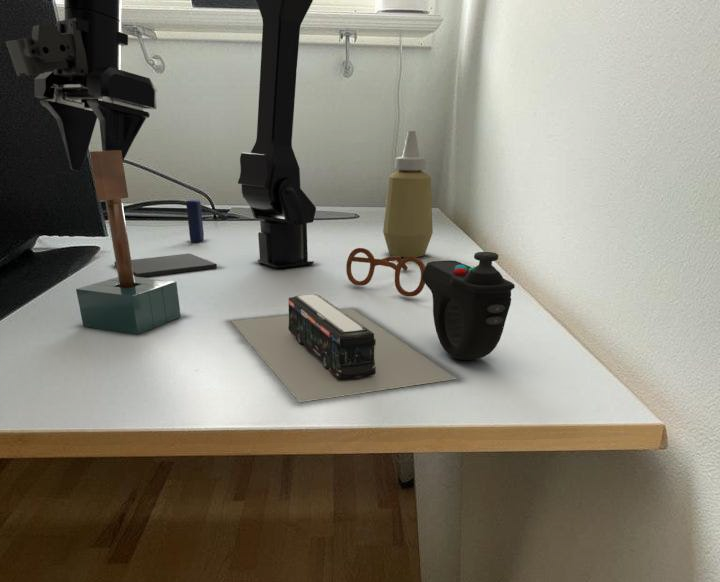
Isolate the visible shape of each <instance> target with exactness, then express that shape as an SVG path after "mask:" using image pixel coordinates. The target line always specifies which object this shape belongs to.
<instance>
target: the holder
mask: <svg viewBox="0 0 720 582" xmlns="http://www.w3.org/2000/svg"><path fill="white" fill-rule="evenodd" d="M134 281H135V287H132V288H122V287H120V285H119V279H118V276H116V277H113V278H110V279H105V280H103V281H99V282H96V283H95V282H94V283H92V284H89V285H85V286H81V287H78V288H75V292H76V296H77V302H78V306H79V311H80V316H81V321H82V326H83V327H86V328H91V329H100V330H106V331H113V332H117V333H118V332H119V333H124V334H125V333H126V334H133V335H141V334H143V333H145V332H148V331H150V330H153V329H154V328H157V327H160V326H163V325H165V324H167V323H169V322H172V321H174V320H178V319H179V318H181V317H182V315H181V307H180V299H179V291H178V284H177V281H176V280H169V279H168V280H167V279H158V278H150V277H136V276H134Z"/></svg>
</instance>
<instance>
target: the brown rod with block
mask: <svg viewBox="0 0 720 582" xmlns="http://www.w3.org/2000/svg"><path fill="white" fill-rule="evenodd" d="M89 157H90V162H91V169H92V175H93V179H94V186H95V191H96V192H95V193H96V198H97V201H98V202H105V206H106V212H107V220H108V225H109V232H110V237H111V243H112V249H113V254H114V259H115V260H114V262H116V266H115V267H116V272H117V277H118V279H119V285H120V287H122V288H132V287H135V281H134V277H135V276H134V274H133V268H132V261H131V260H132V257H131V250H130V243H129V236H128V230H127V224H126V217H125V211H124V205H123V199H128V198H129V192H128V186H127V180H126V173H125V167H124V160H123V159H122V152H121V150H107V151H102V150H93V151H89Z"/></svg>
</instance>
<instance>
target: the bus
mask: <svg viewBox="0 0 720 582" xmlns="http://www.w3.org/2000/svg"><path fill="white" fill-rule="evenodd" d="M287 300H288V315H286V314H285V315H277V316H267V317H258V318H257V317H256V318H248V319H247V318H246V319H239V320H238V319H237V320H231V321H230V322H231V323H232V324H233V326H234V327H235V328H236V329H237V330H238V332H240V334H241V335H242V336H243V338H245V339H246V341H247V342H248V344H250V346H251V347H252V348H253V349H254V350H255V352H256V353H257V354H258V355H259V356H260V357H261V359H262V360H263V361H264V362H265V363H266V364H267V366H268V367H269V368H270V369H271V371H272V372H273V373H274V374H275V375H276V376H277V377H278V378H279V380H280V381H281V382H282V383H283V384H284V386H285V387H286V388H287V389H288V390H289V392H290V393H291V394H292V395H293V396H294V397H295V398H296V400H297V401H298V402H299V403H301V402H302V403H303V402H309V401H316V400H323V399H330V398H337V397H344V396H350V395H351V396H352V395H358V394H365V393H371V392H377V391H385V390H392V389H397V388H399V389H400V388H404V387H412V386H418V385H419V386H420V385H425V384H431V383H438V382H439V383H440V382H445V381H452V380H457V377H455V376H453V375H452V374H451V373H449V372H447V371H446V370H444V369H443V368H442V367H440V366H439V365H437V364H435V363H434V362H433V361H431V360H430V359H429V358H427V357H425V356H423V354H421V353H419V352H418V351H416V350H415V349H413V348H411V346H409V345H407V344H406V343H404V342H403V341H401V340H400V339H398V338H396V337H395V336H394V335H393V334H391V333H389V332H387V331H386V330H385V329H383V328H382V327H380V326H378V325H377V324H376V323H374V322H373V321H371V320H370V319H368V318H367V317H365V316H364V315H362V314H360V313H359V312H358V311H356V310H354V309H353V308H347V309H345V308H344V309H339V308H338V307H337V306H335V305H334V304H332V303H331V302H330V301H328V300H327V299H325V298H324V297H322V296H321V295H319V294H315V293H313V294H303V295H295V296H292V297H288V299H287Z"/></svg>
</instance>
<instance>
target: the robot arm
mask: <svg viewBox="0 0 720 582" xmlns="http://www.w3.org/2000/svg"><path fill="white" fill-rule="evenodd" d="M42 1H43V2H46V3H50V2H52V1H53V0H42ZM63 2H64V3H63V4H64V7H63V8H64V9H63V10H64V19H63V20H58V21H57V23H55V24H54V23H45V24H37V25H33V26H32V31H31V32H32V33H31V37H26V38H19V39H13V40H12V39H11V40H6V41H5V44H6V47H7V50H8V53H9V56H10V58H11V61H12V64H13V68H14V70H15V74H16V76H17V77H22V76H36V75H37V76H36V77H35V78H34V79H33V80H34V97H35V98H38V99H41V100H39V102H40V104H41V105H42V107H45V109H47V111H48V112H49V113H50V114H51V115H52V116H53V117H54V118H55V120H56V123H57V126H58V128H59V131H60V134H61V138H62V142H63V144H64V148H65V153H66V156H67V159H68V164H69V167H70V169H71V170H72V171H77V172H81V171H82V169H83V167H84V164H85V160H86V157H87V154H88V151H89V147H90V144H91V140H92V137H93V133H94V130H95V127H96V123H97V121H98V123H99V131H100V142H101V151H107V150H121V152H122V159H123V161H124V160H125V158H126V157H127V155H128V152H129V150H130V148H131V147H132V144H133V143H134V140H135V139H136V137H137V135H138V134H139V132H140V130H141V128H142V126H143V125H144V124H145V121H146V120H147V119H149V118H150V116H151V113H150V112H149V111H145V110H157V104H158V103H157V102H158V101H157V100H158V89H157V88H156V86H155V85H154V83H153V81H152V80H151V78H149V77H147V76H143V75H139V74H137V73H132V72H129V71H126V70H122V69H121V47H124V46H128V45H129V34H128V33H124V32H121V31H122V0H64V1H63ZM255 2H256V4H257V5H256V6H257V8H258V10H259V13H260V15H261V19H262V32H261V33H262V34H261V50H260V51H261V53H260V55H261V56H260V67H259V70H260V71H259V87H258V88H259V89H258V105H257V107H258V108H257V122H256V123H257V125H256V126H257V127H256V139H255V143H254V145H253V146H252V149H251V151H250V152H241V153H240V156H239V164H240V166H239V167H240V173H239V178H238V180H237V184H238V185H241V194H242V197H243V199H244V200H245V202H246V203H247V204H248V205H249V208H250V210H251V213H252V216H253V218H254V219H255V220H260V222H259V226H260V231H259V232H258V234H257V235H258V236H257V237H258V238H257V239H258V252H259V258H257V263H260V264H263V265H266V266H269V267H272V268H274V269H285V268H291V267H292V268H293V267H300V266H307V265H313V264H314V260H312V259H309V256H308V255H309V253H308V250H309V249H308V224H311V223H314V219H315V216H316V211H317V207H316V205H315V204H314V203H313V202H312V200H311V199H310V198H309V197H308V196H307V195H306V193H305V192H304V191H303V189H302V188H301V170H300V166H299V163H298V160H297V157H296V154H295V152H294V149H293V130H294V118H295V117H294V115H295V105H296V103H295V102H296V89H297V75H298V61H299V49H300V35H301V27H302V24H303V21H304V20H305V17H306V16H307V13H308V12H309V10H310V8H311V6H312V4H313V2H314V0H255Z"/></svg>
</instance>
